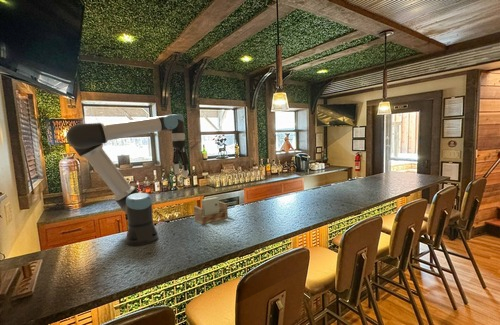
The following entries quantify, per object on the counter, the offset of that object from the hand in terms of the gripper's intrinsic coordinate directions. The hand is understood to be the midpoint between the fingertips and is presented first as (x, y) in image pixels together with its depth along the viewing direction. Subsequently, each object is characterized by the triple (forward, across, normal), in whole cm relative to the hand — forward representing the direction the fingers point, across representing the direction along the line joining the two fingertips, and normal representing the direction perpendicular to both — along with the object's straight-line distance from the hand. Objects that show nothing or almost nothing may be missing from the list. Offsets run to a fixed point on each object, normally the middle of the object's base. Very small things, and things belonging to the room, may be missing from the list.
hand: (181, 175), depth 153 cm
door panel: (+28, -9, -14) cm, 32 cm away
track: (+29, -9, -14) cm, 33 cm away
